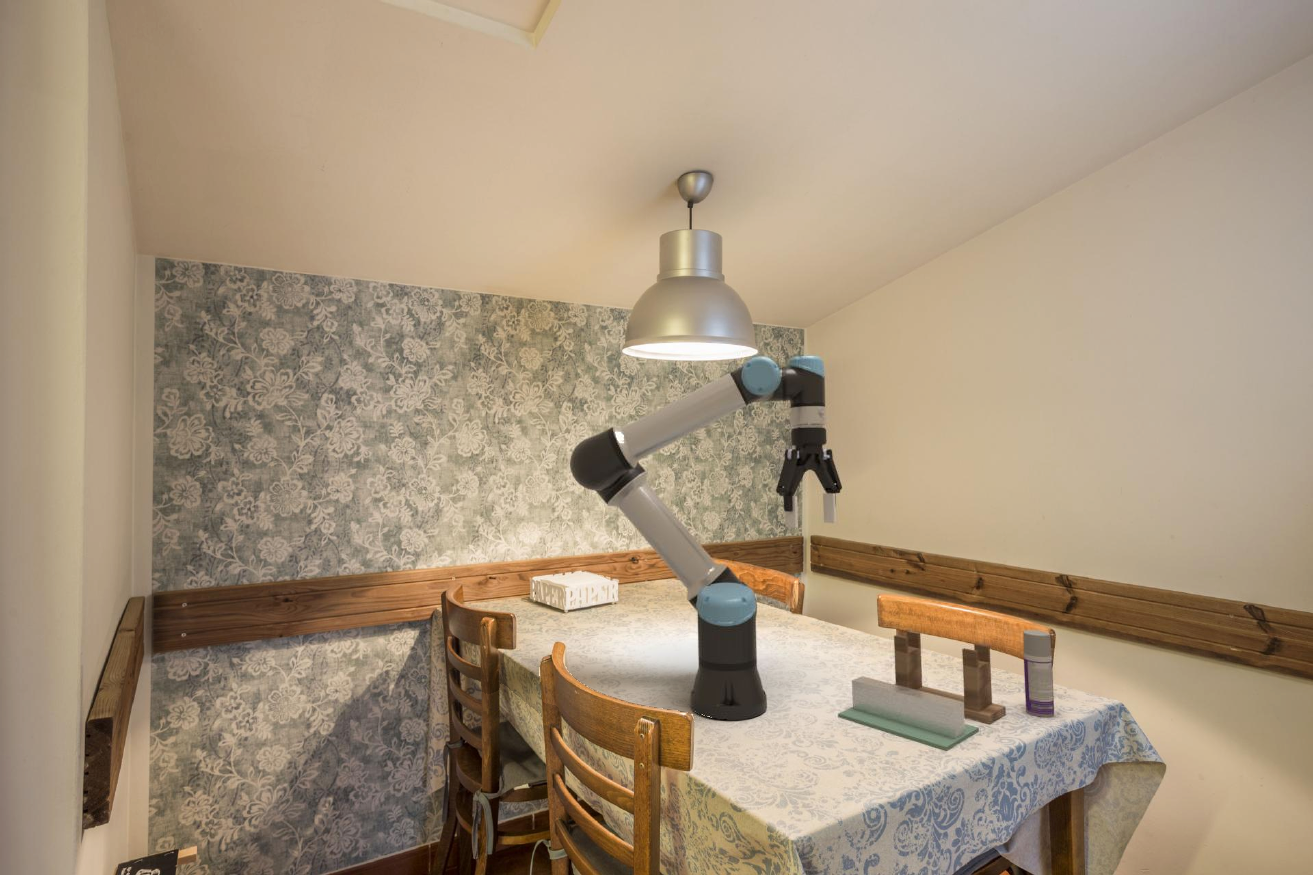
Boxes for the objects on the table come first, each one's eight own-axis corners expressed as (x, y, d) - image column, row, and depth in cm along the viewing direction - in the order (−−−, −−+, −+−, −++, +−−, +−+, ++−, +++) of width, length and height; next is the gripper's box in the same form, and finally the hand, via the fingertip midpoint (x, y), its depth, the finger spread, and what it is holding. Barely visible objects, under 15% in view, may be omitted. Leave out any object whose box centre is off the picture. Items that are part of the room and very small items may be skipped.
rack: (989, 724, 122) (986, 654, 123) (884, 695, 138) (882, 634, 138) (1005, 714, 127) (1003, 647, 127) (902, 687, 142) (900, 628, 143)
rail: (955, 739, 114) (954, 706, 115) (852, 708, 129) (851, 680, 130) (964, 733, 117) (963, 701, 117) (863, 704, 132) (862, 676, 132)
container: (1028, 706, 130) (1025, 628, 131) (1056, 711, 127) (1052, 631, 128) (1023, 713, 127) (1020, 633, 127) (1052, 719, 124) (1048, 636, 124)
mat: (946, 750, 111) (946, 746, 111) (838, 716, 127) (838, 713, 127) (978, 730, 119) (978, 727, 119) (872, 701, 135) (872, 698, 135)
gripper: (785, 424, 136) (788, 530, 135) (855, 427, 152) (859, 521, 151) (757, 427, 141) (760, 528, 140) (827, 429, 157) (830, 520, 156)
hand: (811, 525), depth 146 cm, fingers open, 13 cm apart
